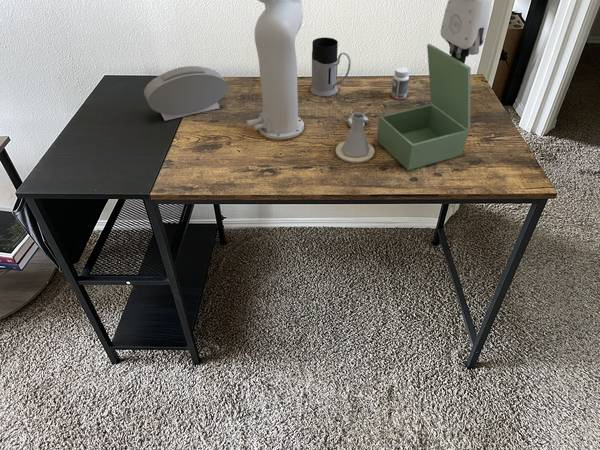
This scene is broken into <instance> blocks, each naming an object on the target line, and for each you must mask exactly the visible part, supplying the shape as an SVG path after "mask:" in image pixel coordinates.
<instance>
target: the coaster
mask: <svg viewBox="0 0 600 450" xmlns="http://www.w3.org/2000/svg"><path fill="white" fill-rule="evenodd" d="M344 143H345V140H344V141H342V142H339V143H338V144H337V145H336V147H335V155H336V157H337V158H338V159H340V160H342V161H344V162H346V163H352V164H360V163H361V164H363V163H366V162H368V161H370V160H372V159H373V158H374V156H375V151H376V150H375V148H374V146H373V145H372V144H371V143H369V142H368V145H369V152H368V154H367V155H365V156H360V157H353V156H347V155H345V154H344V152H343V151H342V147H343V145H344Z"/></svg>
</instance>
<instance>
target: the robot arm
mask: <svg viewBox="0 0 600 450" xmlns="http://www.w3.org/2000/svg"><path fill="white" fill-rule="evenodd" d="M257 1H258V2H260V3H262V4H263V5H264V8H265V9H264V10H263V11H262V12H261V14H260V15H259V17H258V19H257V21H256V23H255V27H254V36H253V37H254V43H255V48H256V53H257V59H258V66H259V67H258V68H259V69H258V70H259V77H260V78H259V79H260V90H261V91H260V92H261V101H262V112H260V113H259V116H257V118H255V119H253V118H252V119H249V120H248V119H247V120H246V126H247V128H248V129H249V128H253V129H254V130H255V131H257V130H258V132H259V133H260V134H261V135H262V136H264V137H265V138H268V139H271V140H275V141H276V140H277V141H281V140H291V139H293V138H295V137H298V136H299V135H301V134H302V133H303V132H304V129H305V123H304V121H303V120H302V119H301V118H300V117H299V92H298V90H299V89H298V60H297V53H296V52H297V51H296V37H297V35H298V33H299V31H300V29H301V27H302V24H303V20H304V14H303V13H304V12H303V11H304V10H303V3H302V0H257ZM491 7H492V0H447V3H446V7H445V10H444V13H443V18H442V21H441V28H440V36H441V37H442V39H444V40H445V42H446V43H448V46H449V50H448V51H449V55H450V56H452V57H453V58H455V59H457V60H459V61H460V62H462V63H464V64H466V60H467V58H468V57H469V55H472V56H474V55H479V53H480V47H481V46H483V44H484V43H485V40H486V36H487V31H488V27H489V21H490V16H491Z"/></svg>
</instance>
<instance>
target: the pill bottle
mask: <svg viewBox="0 0 600 450" xmlns="http://www.w3.org/2000/svg"><path fill="white" fill-rule="evenodd" d="M409 73H410V69H409V68H408V67H404V66H398V67H395V69H394V75H393V76H392V85H391V92H390V96H391V97H392V98H394V99H397V100H403V99H406V98H407V97H408V89H409V81H410V75H409Z"/></svg>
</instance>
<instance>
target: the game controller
mask: <svg viewBox="0 0 600 450" xmlns="http://www.w3.org/2000/svg"><path fill="white" fill-rule="evenodd" d="M340 111H341V113H342V114H343V115H345V116H347V115H348V116H350V114H349V113H346V114H344V112H343V111H342V110H341V109H340V110H339V112H340ZM368 121H369V118H368V117H367V116H366V115H365V116H364V119H363V128H364V129H365V124H368ZM347 124H348V127H350V128H351V125H352V117H351V116H350V117H349V118H348V119H347Z"/></svg>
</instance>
